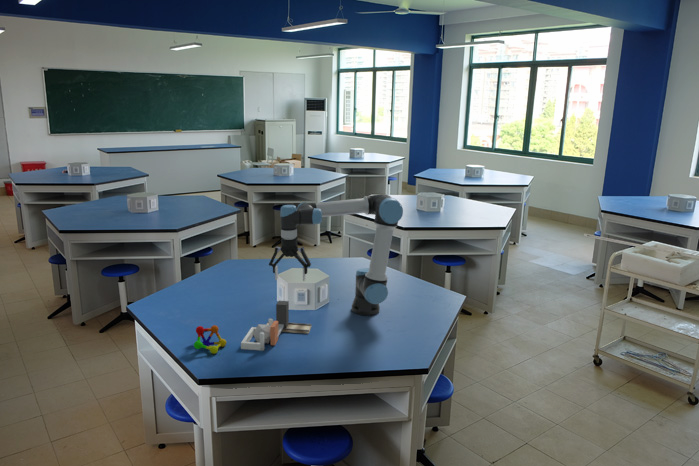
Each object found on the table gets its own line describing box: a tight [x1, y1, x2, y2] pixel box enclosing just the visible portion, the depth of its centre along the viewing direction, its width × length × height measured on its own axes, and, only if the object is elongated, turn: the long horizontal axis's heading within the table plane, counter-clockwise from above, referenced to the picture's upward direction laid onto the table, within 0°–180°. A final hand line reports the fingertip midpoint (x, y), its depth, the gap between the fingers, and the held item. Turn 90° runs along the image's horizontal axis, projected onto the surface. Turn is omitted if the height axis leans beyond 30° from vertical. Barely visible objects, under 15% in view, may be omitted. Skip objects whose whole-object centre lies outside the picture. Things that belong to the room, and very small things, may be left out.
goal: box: [240, 318, 274, 352], centre depth 239 cm, size 10×18×8 cm, turn 174°
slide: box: [266, 320, 312, 335], centre depth 254 cm, size 22×8×2 cm, turn 84°
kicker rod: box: [269, 300, 290, 346], centre depth 244 cm, size 5×22×13 cm, turn 174°
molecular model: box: [193, 325, 227, 355], centre depth 230 cm, size 15×10×15 cm
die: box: [253, 323, 271, 344], centre depth 239 cm, size 8×9×10 cm
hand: (290, 279), depth 251 cm, fingers open, 13 cm apart
